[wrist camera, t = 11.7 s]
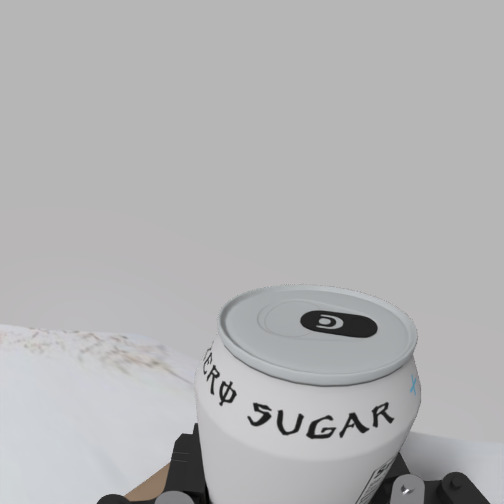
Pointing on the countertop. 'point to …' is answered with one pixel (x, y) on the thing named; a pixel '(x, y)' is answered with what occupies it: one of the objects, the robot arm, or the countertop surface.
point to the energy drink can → (305, 396)
